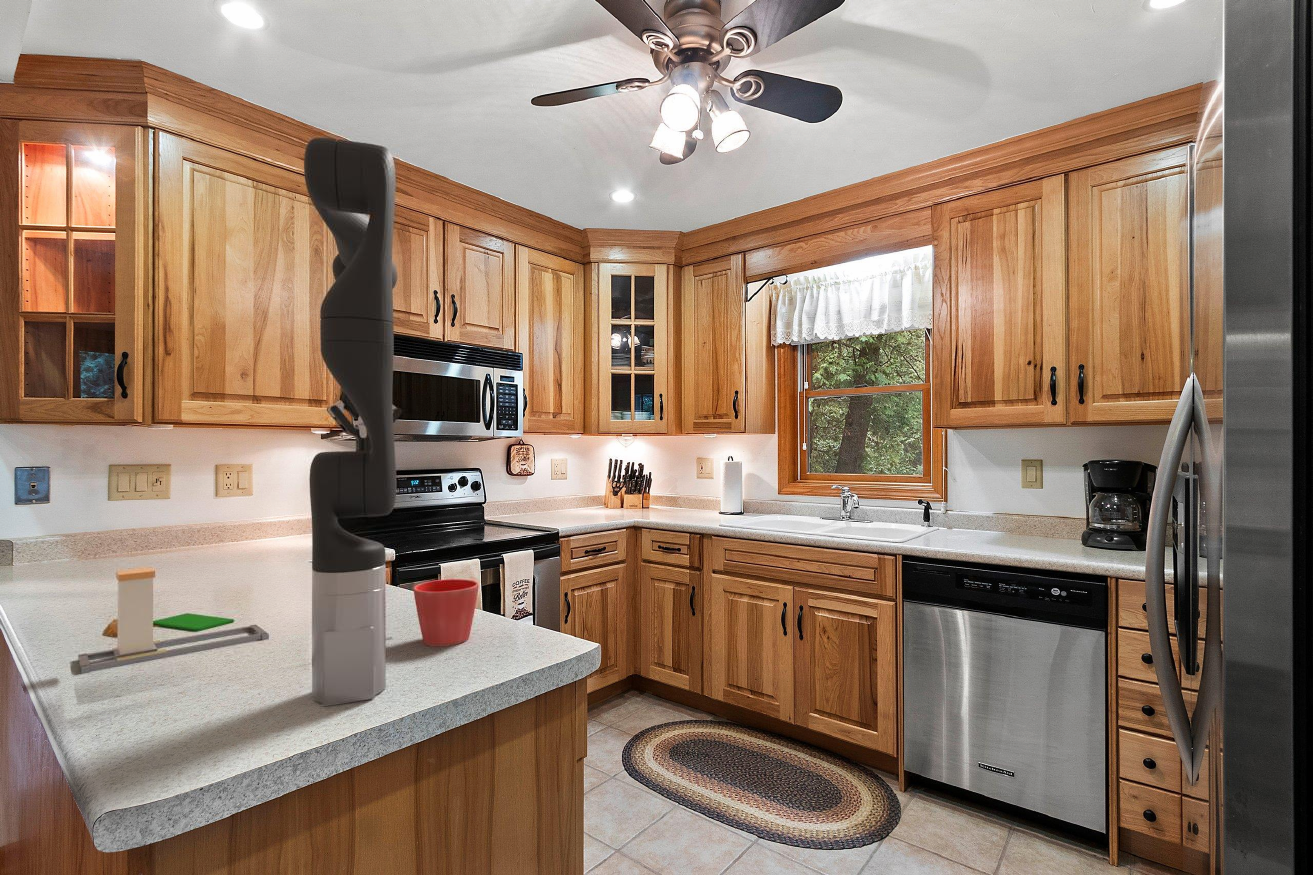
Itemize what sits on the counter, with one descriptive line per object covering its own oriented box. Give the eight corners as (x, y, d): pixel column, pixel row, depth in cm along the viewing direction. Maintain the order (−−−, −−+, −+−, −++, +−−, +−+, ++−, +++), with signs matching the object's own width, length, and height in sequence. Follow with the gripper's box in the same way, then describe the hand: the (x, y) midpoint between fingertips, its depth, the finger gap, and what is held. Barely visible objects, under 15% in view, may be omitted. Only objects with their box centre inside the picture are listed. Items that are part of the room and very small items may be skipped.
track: (255, 636, 117) (255, 623, 117) (268, 646, 110) (268, 632, 110) (78, 668, 100) (78, 653, 100) (81, 683, 94) (81, 666, 94)
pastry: (153, 641, 115) (153, 620, 115) (104, 650, 111) (103, 628, 111) (148, 631, 122) (148, 611, 122) (101, 639, 118) (101, 618, 118)
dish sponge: (196, 642, 115) (196, 628, 116) (148, 634, 121) (148, 621, 121) (235, 631, 122) (235, 618, 122) (187, 624, 127) (188, 612, 127)
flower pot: (482, 644, 110) (482, 587, 111) (414, 652, 106) (413, 593, 107) (475, 628, 120) (475, 576, 121) (413, 635, 116) (413, 581, 117)
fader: (153, 649, 105) (153, 567, 105) (157, 656, 101) (157, 570, 102) (113, 656, 102) (113, 571, 102) (116, 663, 98) (116, 575, 98)
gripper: (333, 357, 109) (333, 459, 109) (410, 364, 118) (410, 458, 118) (319, 362, 114) (319, 459, 114) (393, 368, 124) (393, 458, 123)
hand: (365, 458), depth 116 cm, fingers closed
